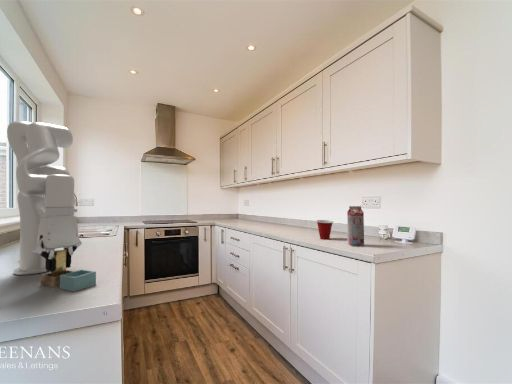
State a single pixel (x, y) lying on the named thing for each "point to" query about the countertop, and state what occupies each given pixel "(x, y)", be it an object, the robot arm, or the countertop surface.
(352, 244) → the juice carton
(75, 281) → the block
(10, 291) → the countertop surface
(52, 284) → the socket block
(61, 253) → the gold domed peg
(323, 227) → the plastic cup
